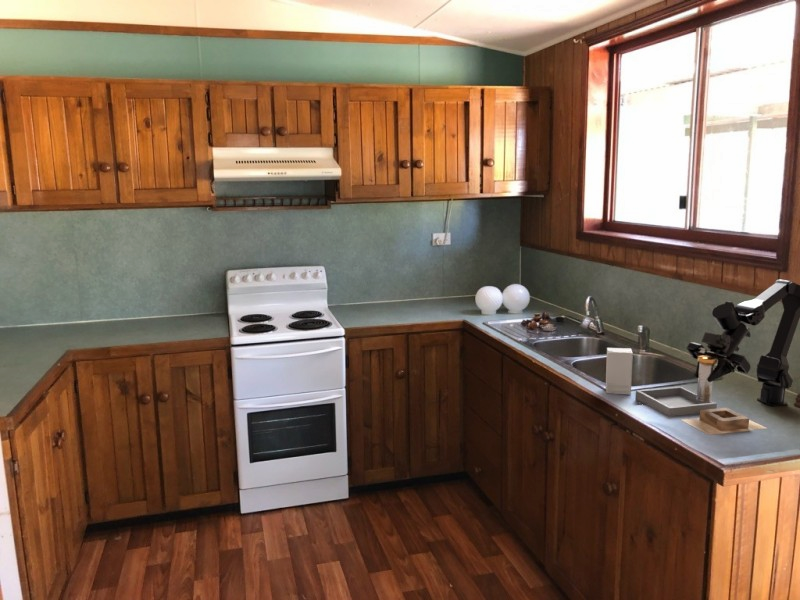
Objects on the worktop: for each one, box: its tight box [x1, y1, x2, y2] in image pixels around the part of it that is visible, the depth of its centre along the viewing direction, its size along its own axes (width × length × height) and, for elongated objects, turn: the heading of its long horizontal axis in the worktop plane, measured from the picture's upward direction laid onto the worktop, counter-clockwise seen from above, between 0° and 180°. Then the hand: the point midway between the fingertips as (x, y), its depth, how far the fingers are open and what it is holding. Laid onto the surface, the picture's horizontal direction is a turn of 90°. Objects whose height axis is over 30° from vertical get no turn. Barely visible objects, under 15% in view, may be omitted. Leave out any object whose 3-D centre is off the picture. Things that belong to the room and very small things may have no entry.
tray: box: [634, 386, 718, 417], centre depth 213 cm, size 17×17×4 cm
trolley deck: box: [681, 407, 768, 436], centre depth 197 cm, size 20×12×4 cm, turn 105°
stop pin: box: [696, 355, 718, 402], centre depth 200 cm, size 5×5×13 cm
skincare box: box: [605, 347, 634, 395], centre depth 227 cm, size 8×6×15 cm
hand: (702, 379), depth 200 cm, fingers closed on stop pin, 4 cm apart
